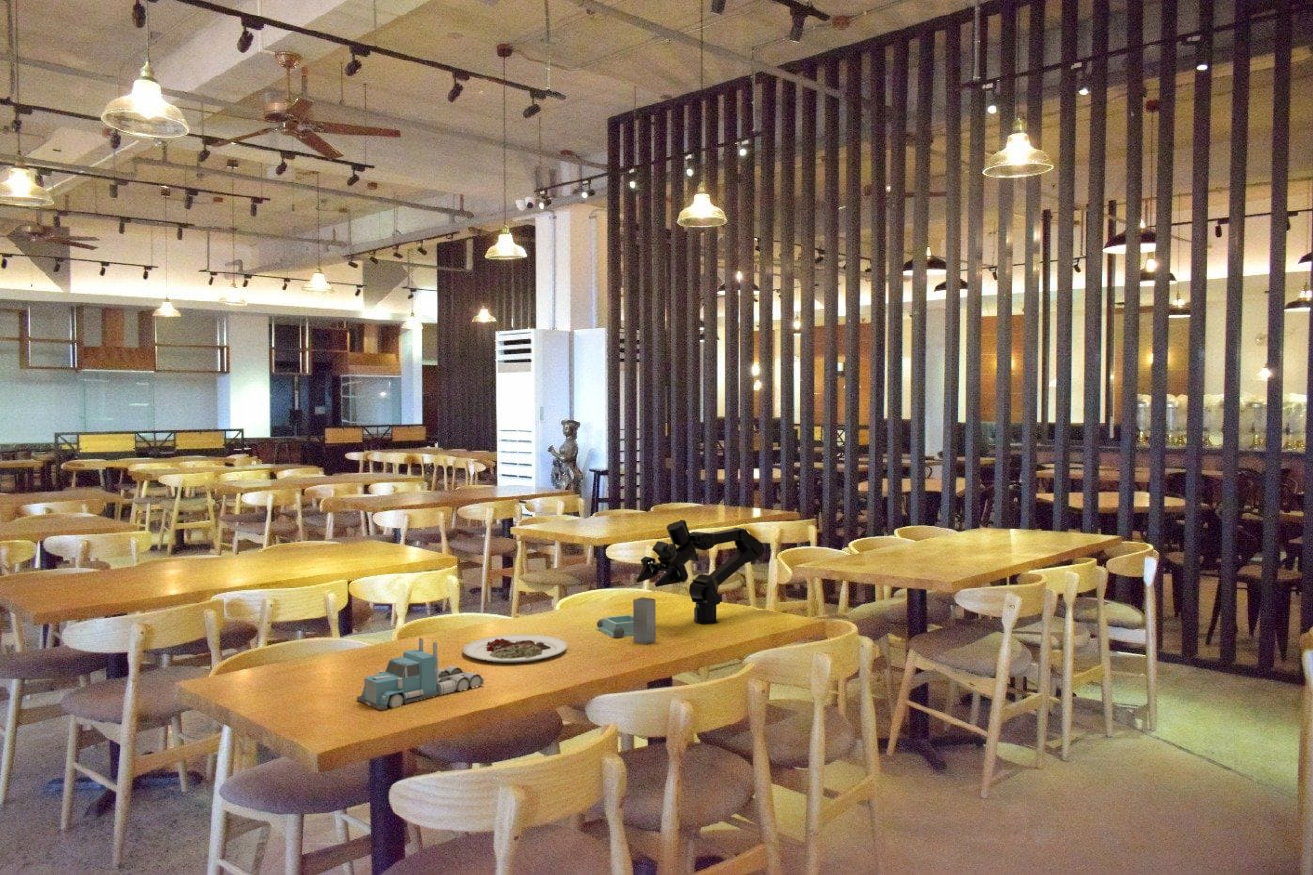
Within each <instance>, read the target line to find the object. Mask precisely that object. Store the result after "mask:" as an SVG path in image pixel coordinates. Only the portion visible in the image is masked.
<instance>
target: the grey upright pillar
mask: <svg viewBox="0 0 1313 875" xmlns="http://www.w3.org/2000/svg"><path fill="white" fill-rule="evenodd" d="M632 601H633V604H632V607H633V608H632V609H633V611H632V613H633V614H632V616H633V635H632V637H633V643H635V644H640V645H645V646H646V645H650V644H652V643H653V644H654V643H656V642H657V641H656V640H657V639H656V638H657V636H656V624H657V623H656V620H657V619H656V618H657V617H656V613H657V612H656V598H651V597H643V596H642V597H638V598H635V599H633V600H632Z"/></svg>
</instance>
